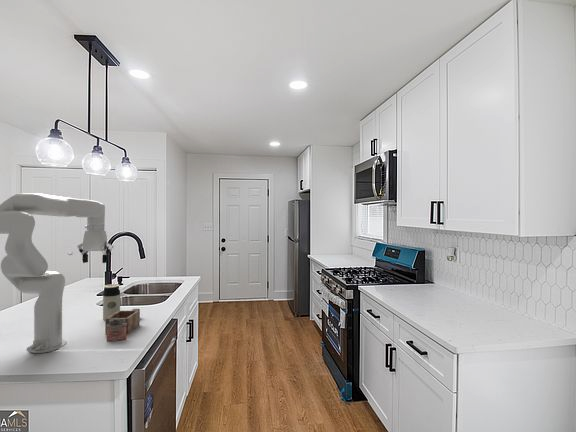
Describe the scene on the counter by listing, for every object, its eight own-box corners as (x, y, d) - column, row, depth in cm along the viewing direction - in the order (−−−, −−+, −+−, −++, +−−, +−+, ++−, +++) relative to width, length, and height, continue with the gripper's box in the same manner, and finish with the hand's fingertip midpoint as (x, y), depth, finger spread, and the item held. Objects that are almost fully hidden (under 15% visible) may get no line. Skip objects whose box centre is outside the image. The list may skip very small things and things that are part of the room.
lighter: (105, 344, 145) (105, 320, 145) (107, 341, 148) (107, 318, 148) (125, 342, 147) (125, 319, 147) (127, 339, 150) (127, 316, 150)
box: (127, 336, 154) (127, 318, 154) (105, 336, 154) (105, 318, 154) (139, 326, 167) (139, 310, 167) (118, 326, 167) (118, 310, 167)
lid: (140, 326, 170) (140, 313, 170) (118, 326, 169) (118, 314, 169) (149, 317, 184) (149, 306, 184) (129, 318, 183) (129, 306, 183)
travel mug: (105, 318, 181) (105, 284, 181) (121, 317, 183) (121, 283, 183) (101, 322, 173) (101, 287, 173) (118, 321, 175) (118, 286, 175)
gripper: (73, 227, 165) (72, 263, 164) (109, 228, 164) (108, 263, 164) (83, 227, 172) (82, 261, 172) (117, 228, 172) (116, 262, 171)
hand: (95, 262), depth 168 cm, fingers open, 9 cm apart
